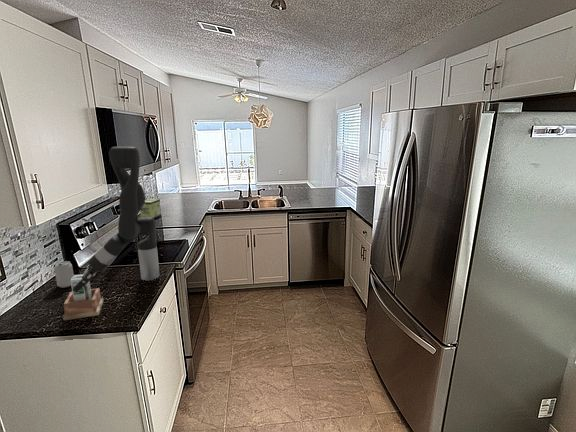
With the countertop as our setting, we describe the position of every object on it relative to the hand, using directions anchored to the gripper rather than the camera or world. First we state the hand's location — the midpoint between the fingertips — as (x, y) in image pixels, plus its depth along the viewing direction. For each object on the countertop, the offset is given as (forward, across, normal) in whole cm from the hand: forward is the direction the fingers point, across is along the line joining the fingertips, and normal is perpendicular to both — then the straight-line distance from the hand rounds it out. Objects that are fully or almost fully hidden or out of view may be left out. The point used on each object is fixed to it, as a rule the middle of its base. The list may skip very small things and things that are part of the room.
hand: (77, 286), depth 144 cm
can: (+17, -30, 0) cm, 35 cm away
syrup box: (+6, 0, +8) cm, 10 cm away
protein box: (-8, -155, +25) cm, 157 cm away
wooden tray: (+7, 0, +9) cm, 12 cm away
